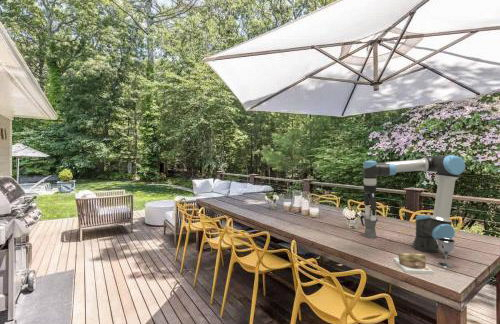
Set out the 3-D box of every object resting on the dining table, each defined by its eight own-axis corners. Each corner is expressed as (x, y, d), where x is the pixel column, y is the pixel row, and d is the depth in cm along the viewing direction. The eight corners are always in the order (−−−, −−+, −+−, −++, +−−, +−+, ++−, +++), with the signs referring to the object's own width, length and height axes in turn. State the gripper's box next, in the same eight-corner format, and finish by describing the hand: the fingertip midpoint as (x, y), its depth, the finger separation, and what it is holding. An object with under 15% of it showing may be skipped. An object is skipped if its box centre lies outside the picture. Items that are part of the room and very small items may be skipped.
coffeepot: (381, 237, 213) (381, 214, 212) (374, 239, 208) (374, 216, 207) (363, 232, 226) (363, 211, 225) (356, 234, 220) (356, 212, 220)
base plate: (417, 261, 167) (417, 257, 167) (433, 274, 149) (433, 270, 149) (393, 260, 168) (393, 256, 168) (406, 272, 151) (406, 269, 151)
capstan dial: (419, 259, 164) (419, 249, 164) (430, 268, 151) (431, 258, 151) (394, 258, 166) (395, 249, 166) (404, 267, 153) (404, 257, 153)
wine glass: (442, 267, 157) (442, 241, 157) (435, 262, 165) (435, 237, 164) (457, 268, 156) (457, 242, 155) (449, 262, 164) (449, 238, 163)
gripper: (359, 182, 188) (359, 213, 188) (369, 187, 163) (369, 222, 164) (370, 182, 186) (370, 213, 187) (382, 187, 162) (382, 222, 162)
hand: (370, 217), depth 175 cm, fingers open, 13 cm apart
